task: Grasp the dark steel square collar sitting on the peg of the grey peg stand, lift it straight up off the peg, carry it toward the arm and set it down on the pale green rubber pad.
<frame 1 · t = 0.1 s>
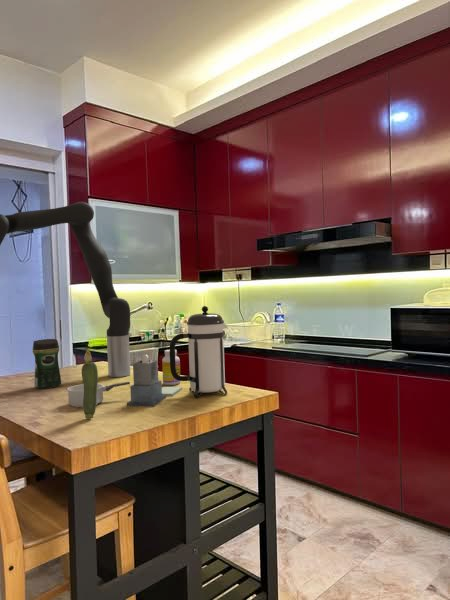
coffee press: (204, 394, 150), on the countertop
pad: (164, 392, 154), on the countertop
collar: (146, 383, 141), point 6 cm above the countertop, touching grey peg stand
coffee jar: (47, 387, 170), on the countertop
supplement bottle: (171, 384, 168), on the countertop
vegetable: (91, 419, 125), on the countertop
saucepan: (99, 403, 143), on the countertop
grey peg stand: (147, 401, 141), on the countertop
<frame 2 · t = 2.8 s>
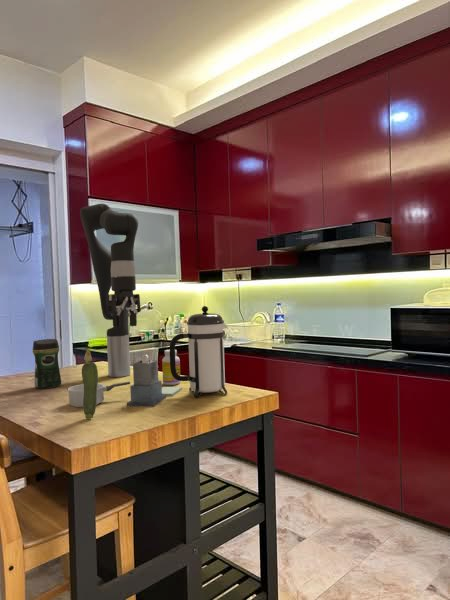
hand: (125, 327, 138), 25 cm above the countertop, tool pointing down, fingers open, 8 cm apart
nothing on the countertop moved.
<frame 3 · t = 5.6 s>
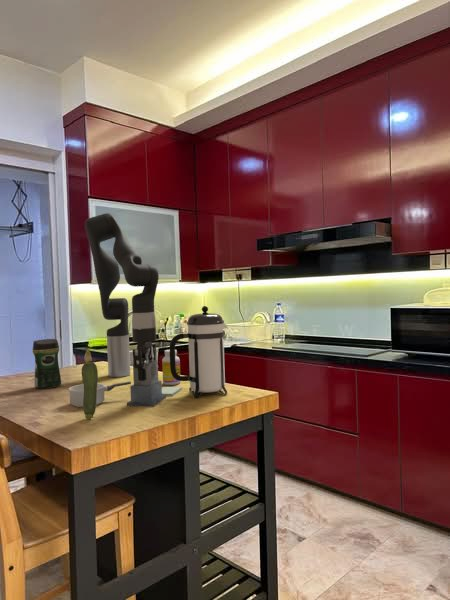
hand: (146, 378, 141), 8 cm above the countertop, tool pointing down, fingers closed on collar, 6 cm apart
collar: (146, 383, 141), point 6 cm above the countertop, touching gripper, grey peg stand
everything else where it was.
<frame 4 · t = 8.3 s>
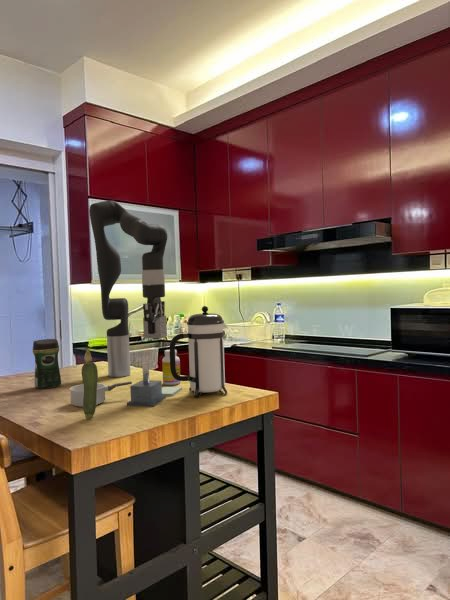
hand: (155, 332, 149), 22 cm above the countertop, tool pointing down, fingers closed on collar, 6 cm apart
collar: (155, 337, 149), point 20 cm above the countertop, touching gripper
everything else where it was.
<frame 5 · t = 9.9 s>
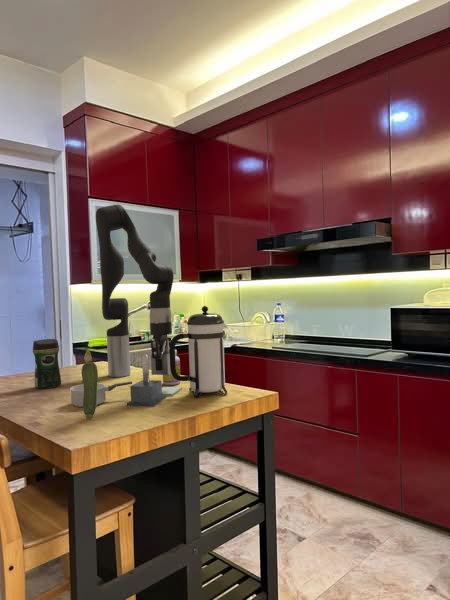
hand: (162, 368, 153), 8 cm above the countertop, tool pointing down, fingers closed on collar, 6 cm apart
collar: (162, 373, 153), point 7 cm above the countertop, touching gripper
everything else where it was.
when the fingers open (3 cm above the countertop, at t = 11.3 s): collar stays where it is, resting on pad.
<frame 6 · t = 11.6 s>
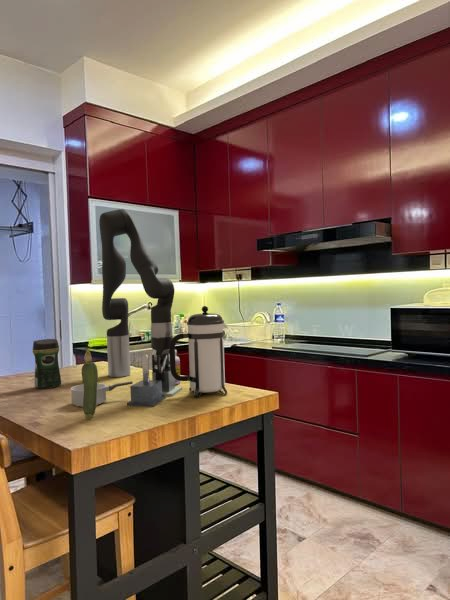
hand: (163, 381, 154), 4 cm above the countertop, tool pointing down, fingers open, 8 cm apart
collar: (164, 390, 154), point 1 cm above the countertop, touching pad
everything else where it was.
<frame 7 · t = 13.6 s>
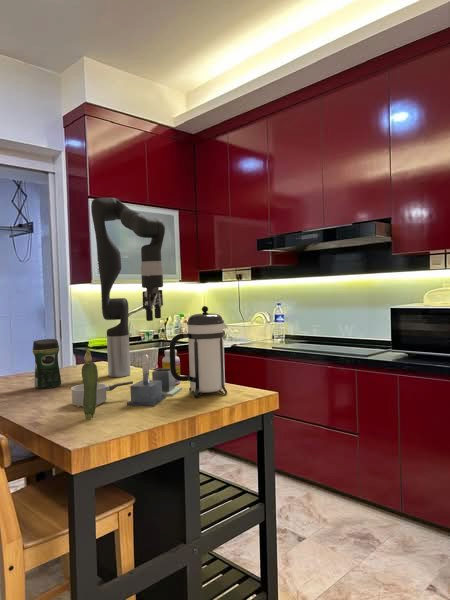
hand: (153, 319, 157), 26 cm above the countertop, tool pointing down, fingers open, 8 cm apart
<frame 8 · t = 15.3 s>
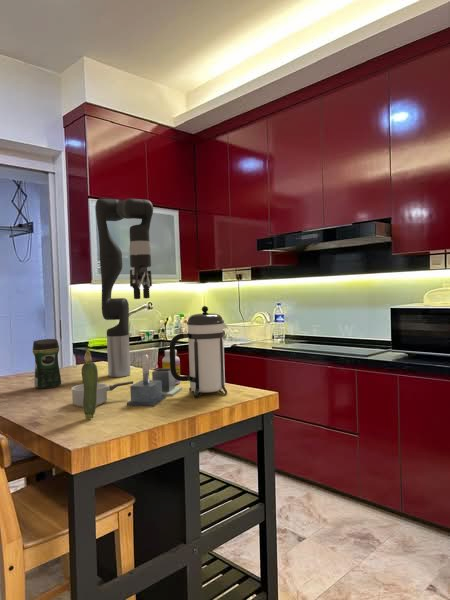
hand: (142, 298, 160), 33 cm above the countertop, tool pointing down, fingers open, 8 cm apart
at the end: collar inside the target area on the pad (0.1 cm from its centre), point 0.8 cm above the pad's base; collar tilted 0°; the gripper is holding nothing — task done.
